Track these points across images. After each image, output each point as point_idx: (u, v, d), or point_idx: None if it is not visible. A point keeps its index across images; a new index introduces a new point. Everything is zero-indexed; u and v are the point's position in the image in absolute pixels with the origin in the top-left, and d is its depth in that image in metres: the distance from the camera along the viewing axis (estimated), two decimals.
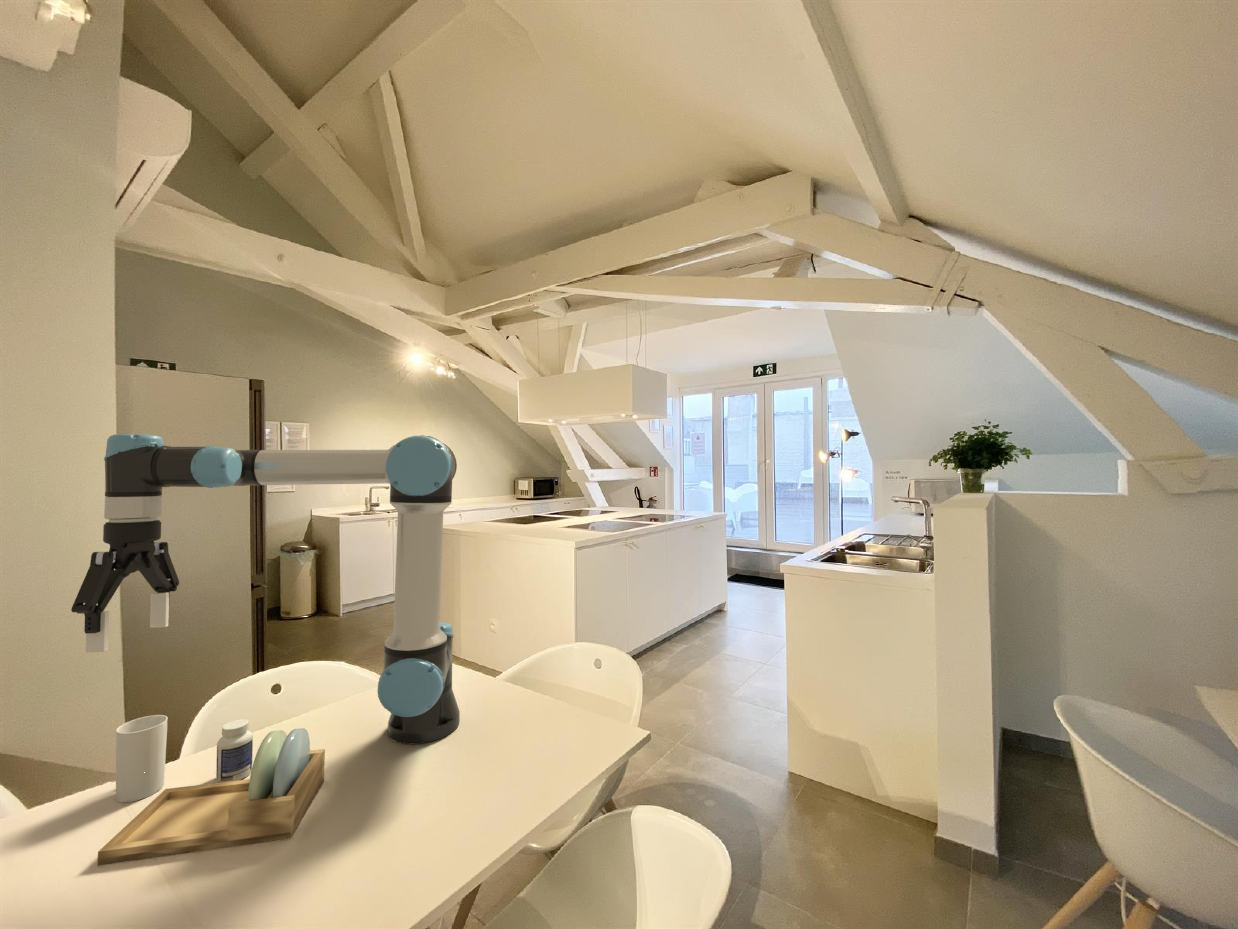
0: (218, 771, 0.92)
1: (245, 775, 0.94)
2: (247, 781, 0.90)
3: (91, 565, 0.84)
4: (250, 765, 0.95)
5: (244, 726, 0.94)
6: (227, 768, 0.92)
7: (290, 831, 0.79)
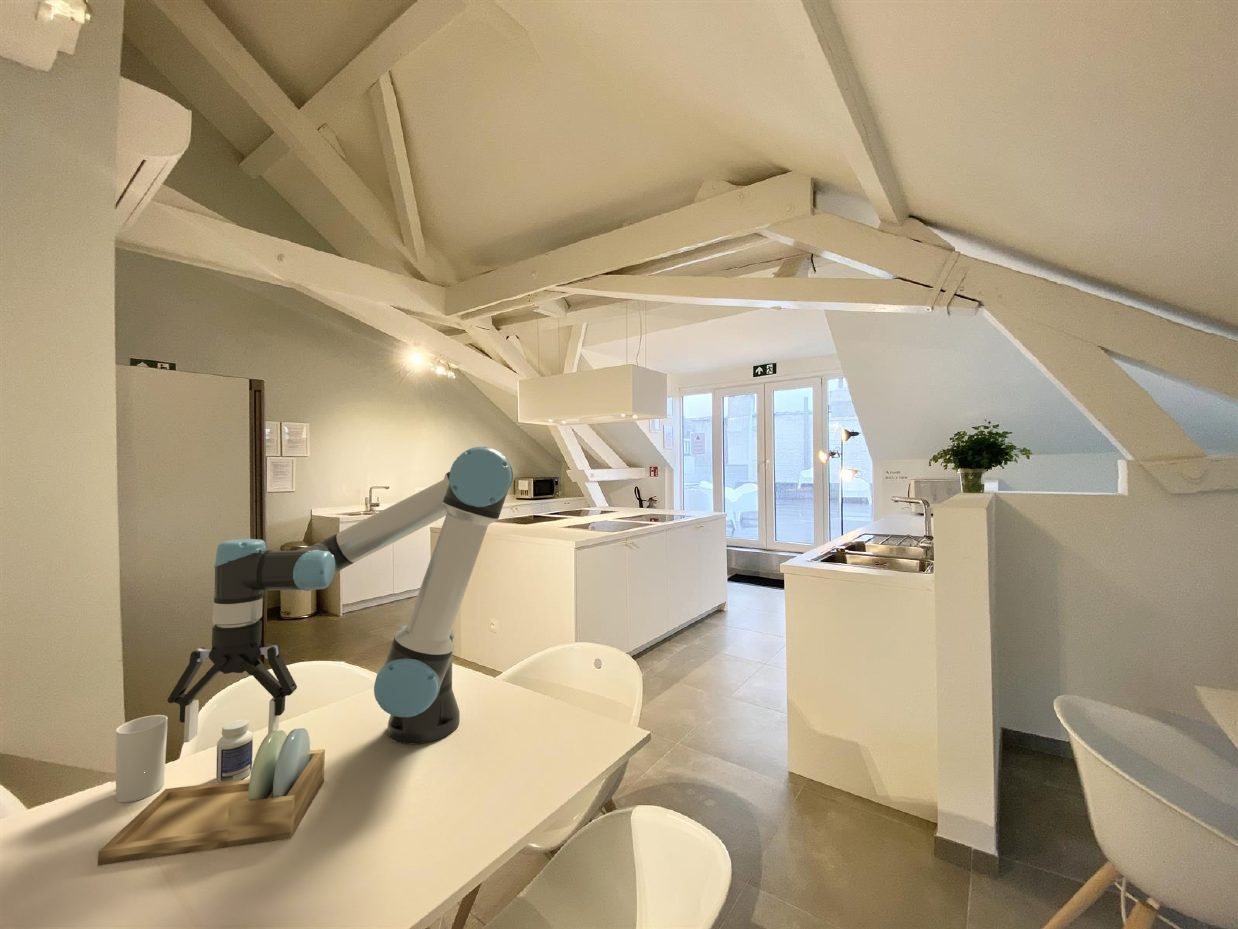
0: (218, 771, 0.92)
1: (245, 775, 0.94)
2: (247, 781, 0.90)
3: None
4: (250, 765, 0.95)
5: (244, 726, 0.94)
6: (227, 768, 0.92)
7: (290, 831, 0.79)
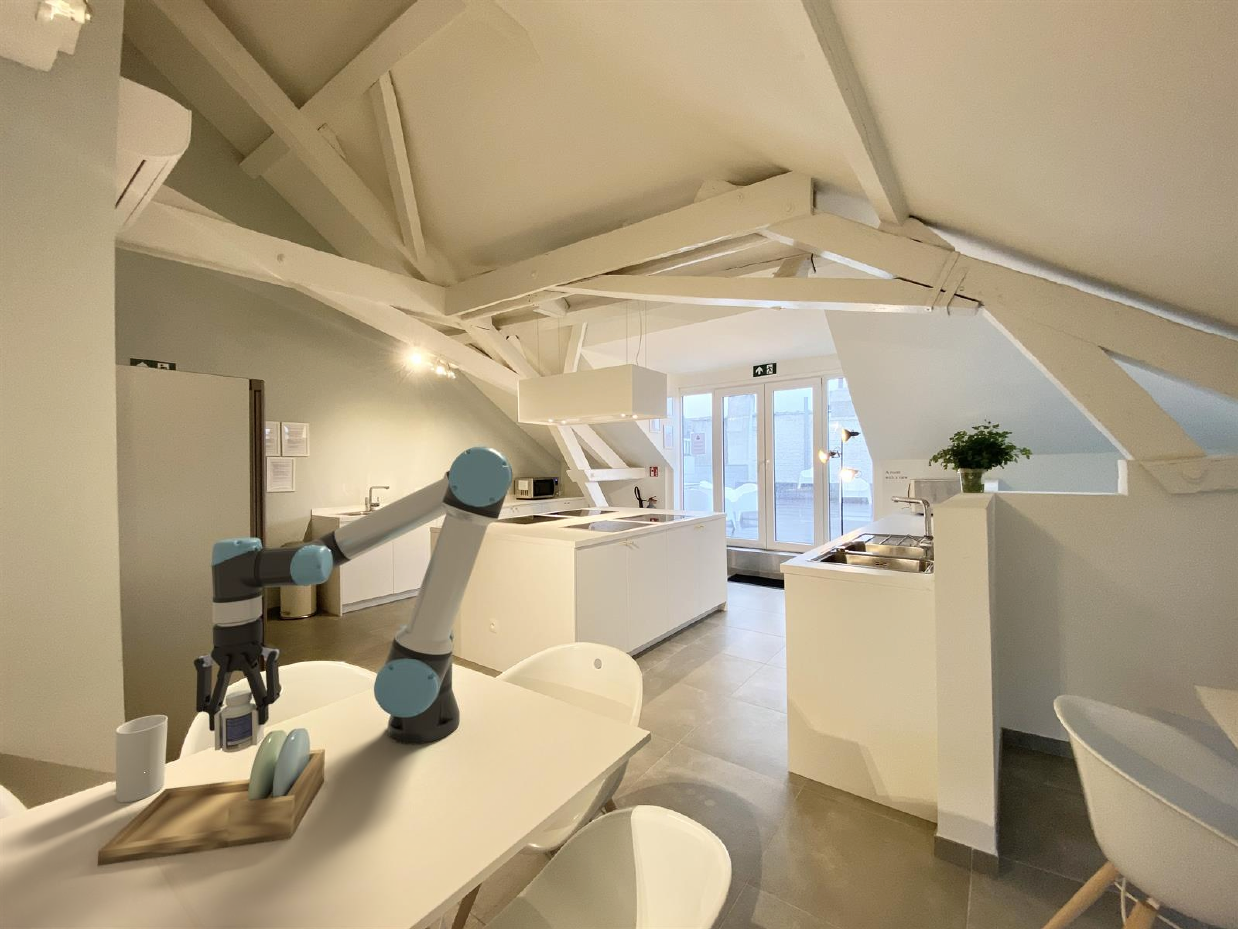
0: (223, 740, 0.93)
1: (250, 744, 0.94)
2: (247, 781, 0.90)
3: None
4: None
5: (248, 695, 0.95)
6: (232, 736, 0.92)
7: (290, 831, 0.79)
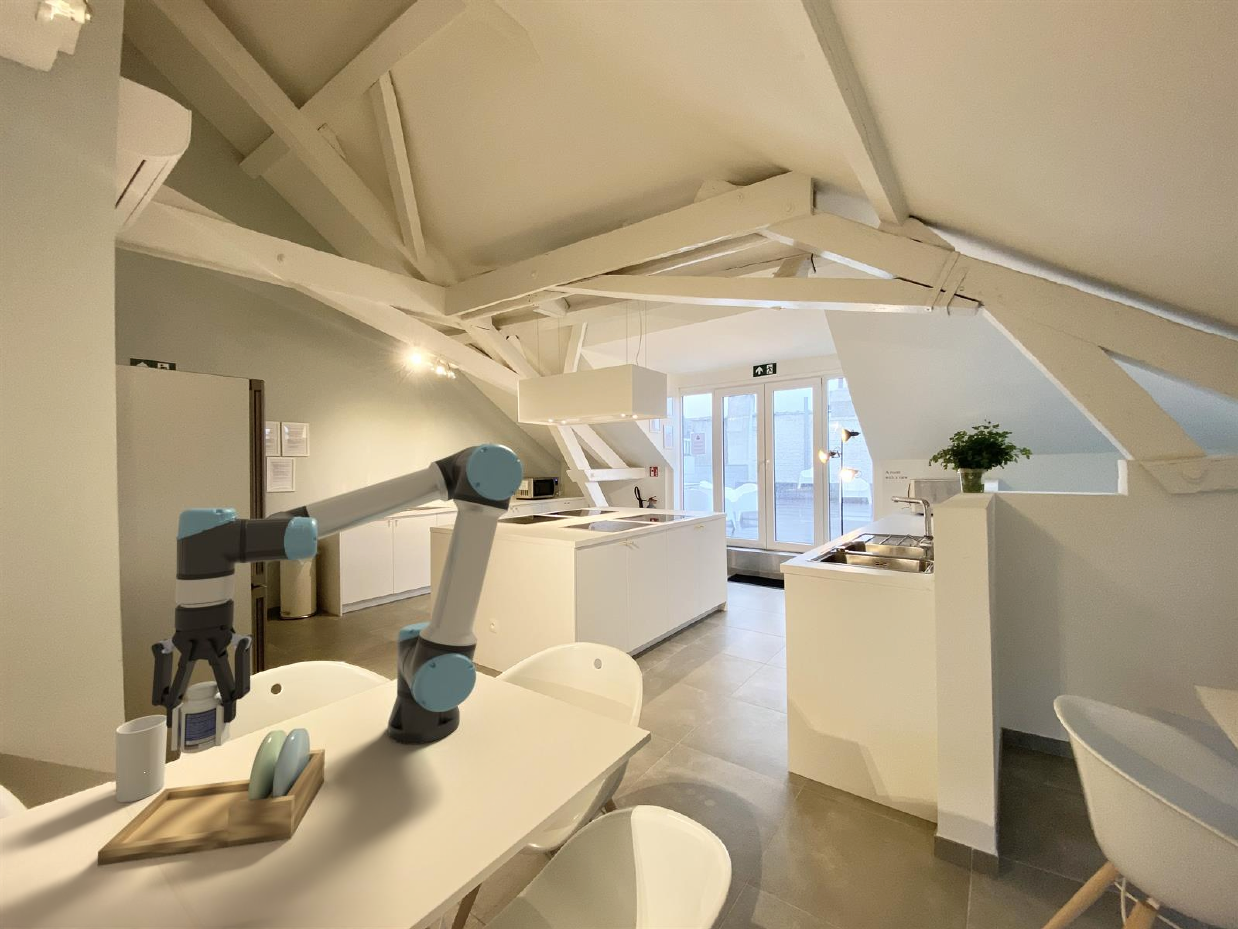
0: (181, 739, 0.80)
1: (213, 744, 0.82)
2: (247, 781, 0.90)
3: None
4: None
5: (213, 688, 0.82)
6: (191, 735, 0.80)
7: (290, 831, 0.79)
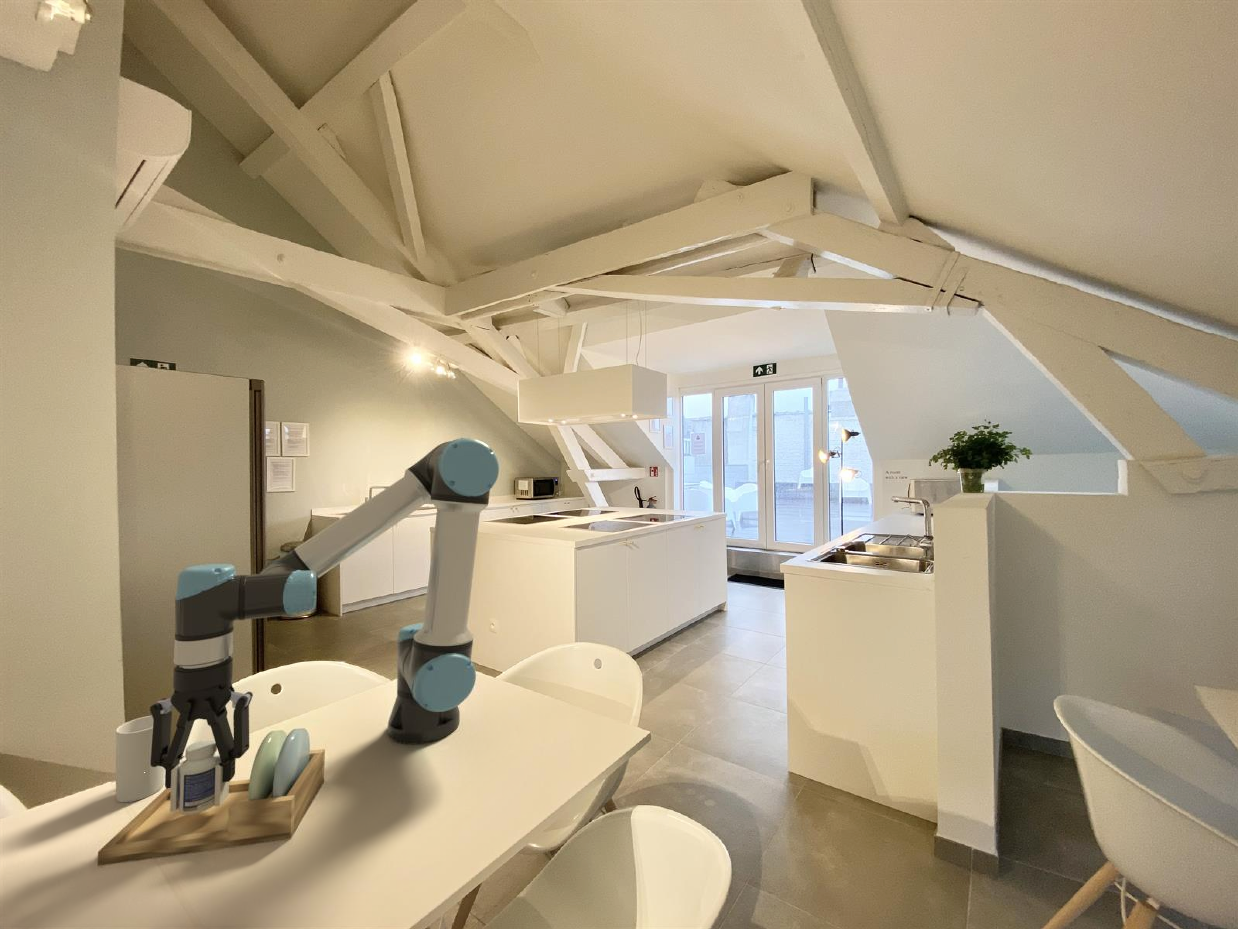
0: (180, 800, 0.80)
1: (212, 804, 0.82)
2: (247, 781, 0.90)
3: None
4: None
5: (212, 747, 0.82)
6: (190, 796, 0.80)
7: (290, 831, 0.79)
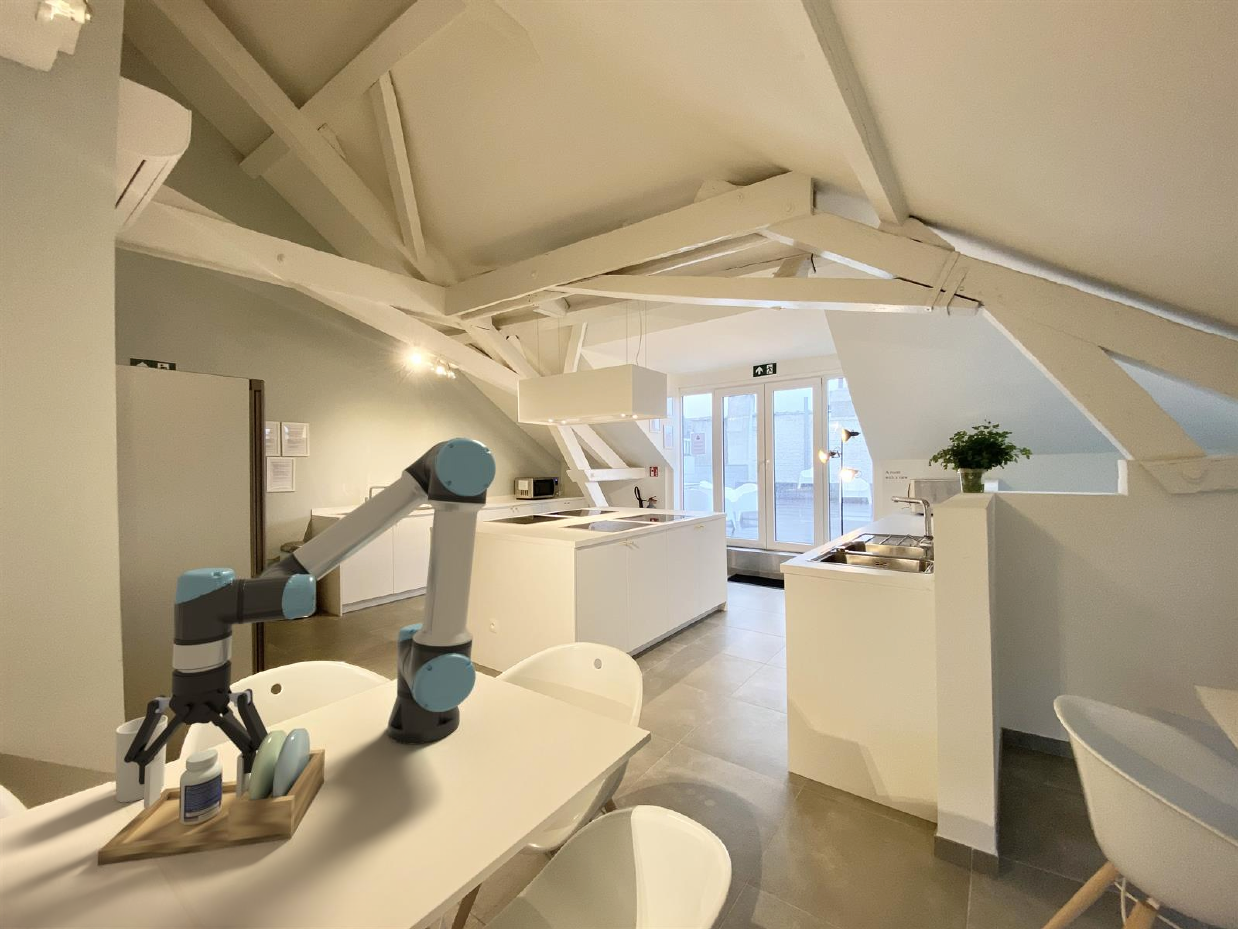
0: (181, 810, 0.80)
1: (213, 814, 0.82)
2: None
3: None
4: (219, 802, 0.83)
5: (212, 758, 0.82)
6: (191, 807, 0.80)
7: (290, 831, 0.79)
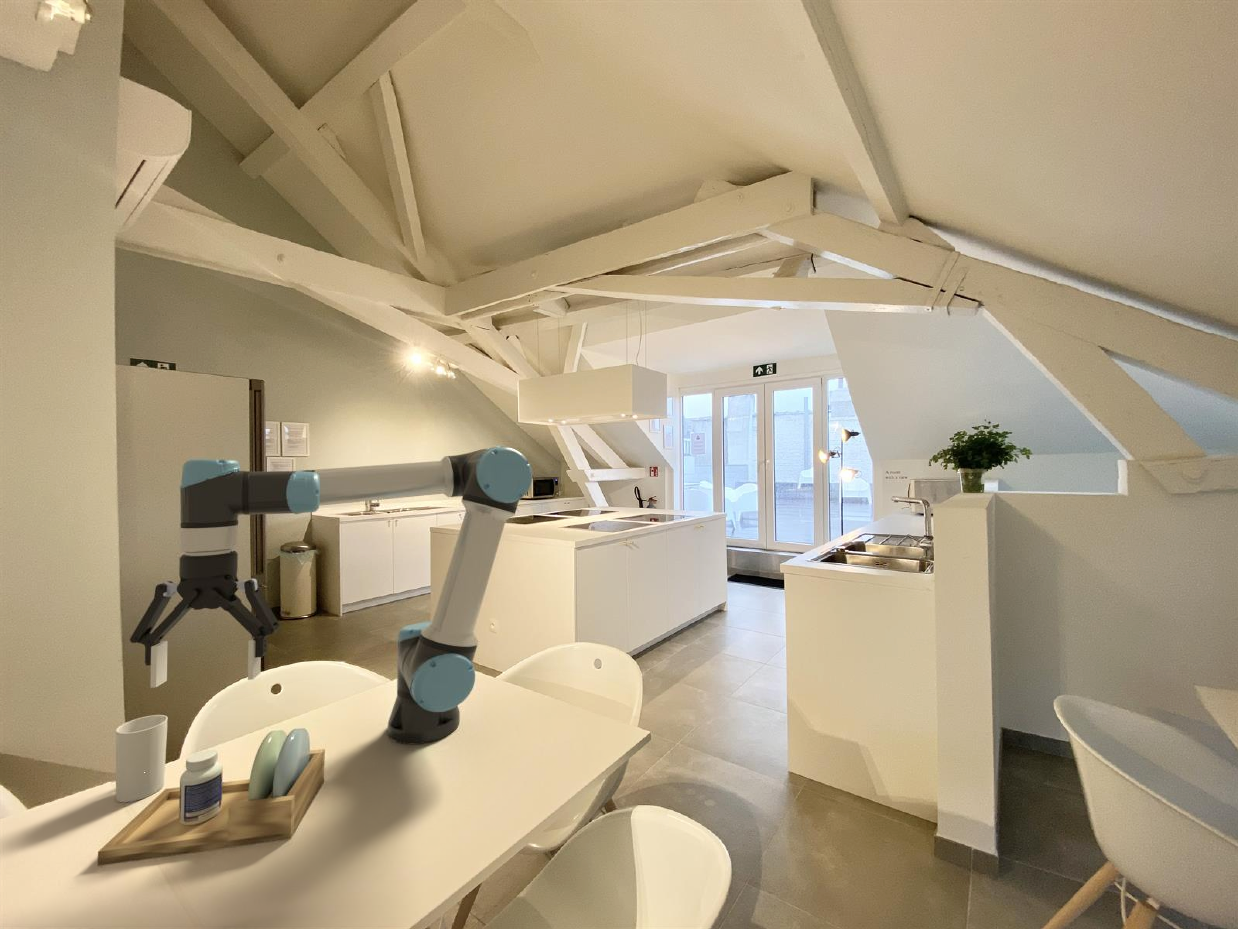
0: (181, 810, 0.80)
1: (213, 814, 0.82)
2: (247, 781, 0.90)
3: None
4: (219, 802, 0.83)
5: (212, 758, 0.82)
6: (191, 807, 0.80)
7: (290, 831, 0.79)
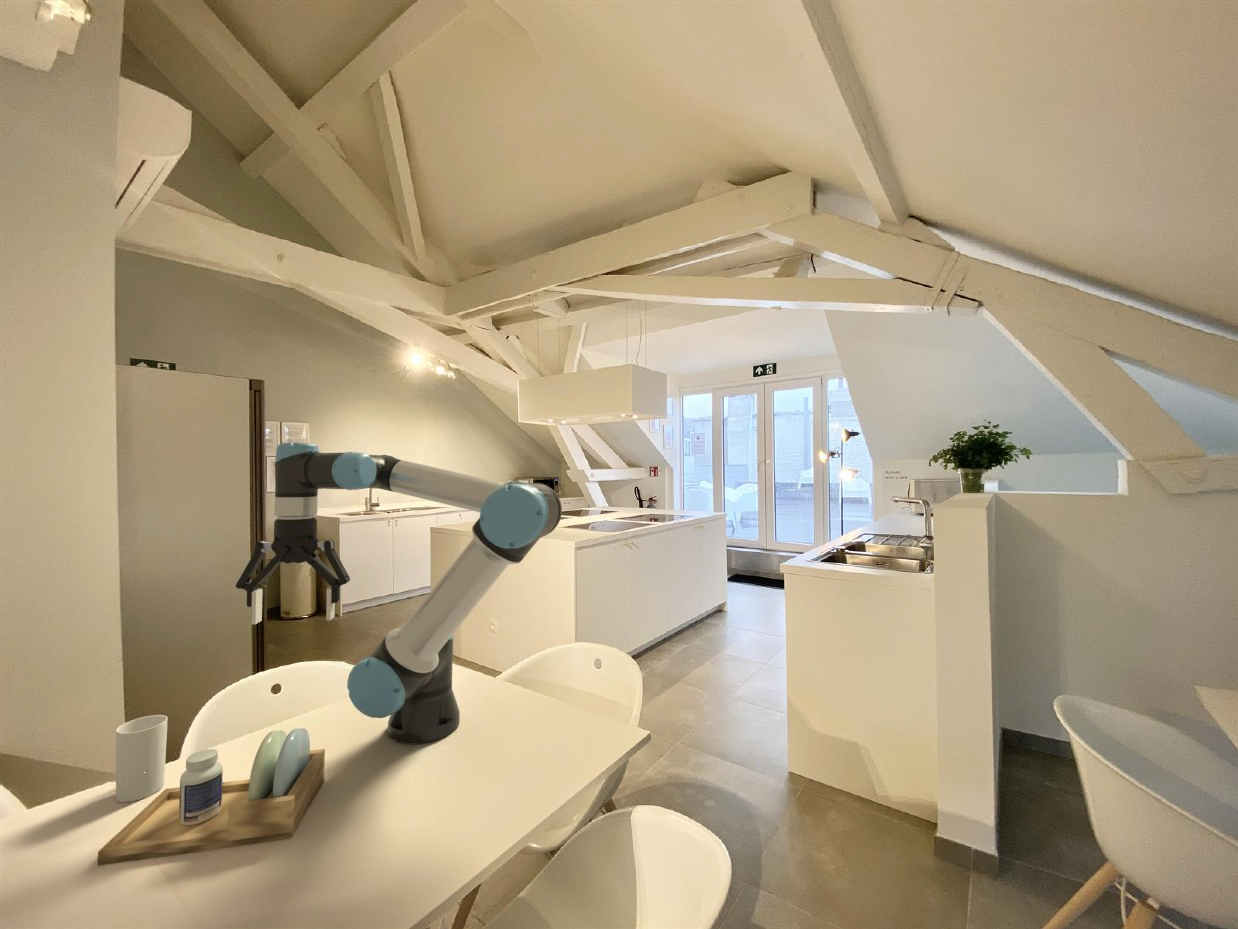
0: (181, 810, 0.80)
1: (213, 814, 0.82)
2: (247, 781, 0.90)
3: None
4: (219, 802, 0.83)
5: (212, 758, 0.82)
6: (191, 807, 0.80)
7: (290, 831, 0.79)
